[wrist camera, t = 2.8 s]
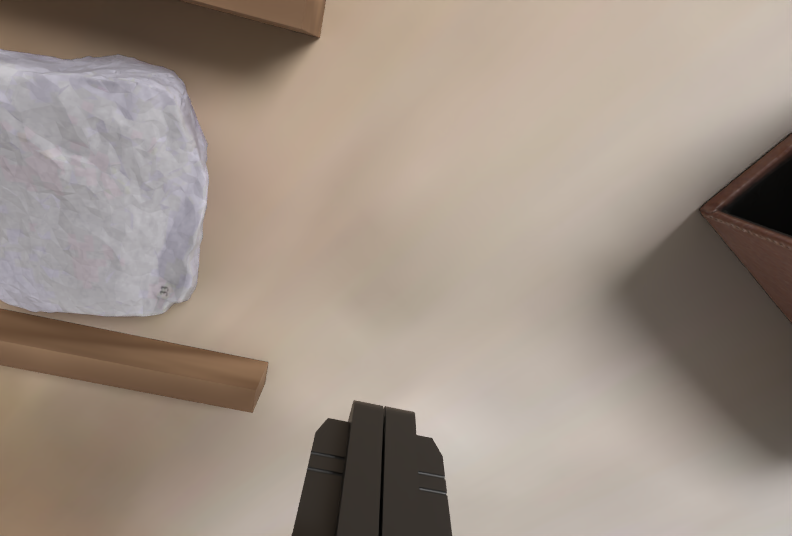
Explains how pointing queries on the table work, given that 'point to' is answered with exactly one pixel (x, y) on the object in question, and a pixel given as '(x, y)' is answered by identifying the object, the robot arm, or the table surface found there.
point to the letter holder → (760, 222)
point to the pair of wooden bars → (142, 357)
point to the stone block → (98, 185)
